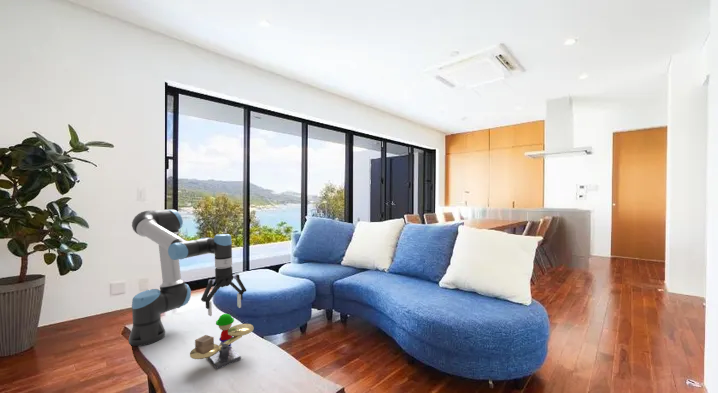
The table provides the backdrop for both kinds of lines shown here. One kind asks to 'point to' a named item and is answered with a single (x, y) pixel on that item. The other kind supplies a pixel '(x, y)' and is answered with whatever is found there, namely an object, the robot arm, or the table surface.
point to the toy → (225, 326)
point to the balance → (225, 348)
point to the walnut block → (204, 344)
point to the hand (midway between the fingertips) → (225, 311)
